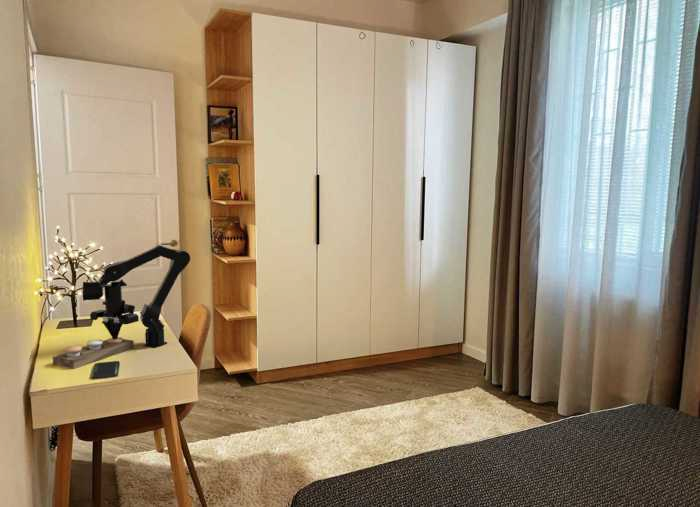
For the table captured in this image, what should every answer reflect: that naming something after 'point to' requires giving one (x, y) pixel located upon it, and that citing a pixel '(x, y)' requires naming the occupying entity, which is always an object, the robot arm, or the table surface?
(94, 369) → the phone
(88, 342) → the middle knob
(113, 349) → the knob mount
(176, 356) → the table surface
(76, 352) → the knob
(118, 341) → the knob
